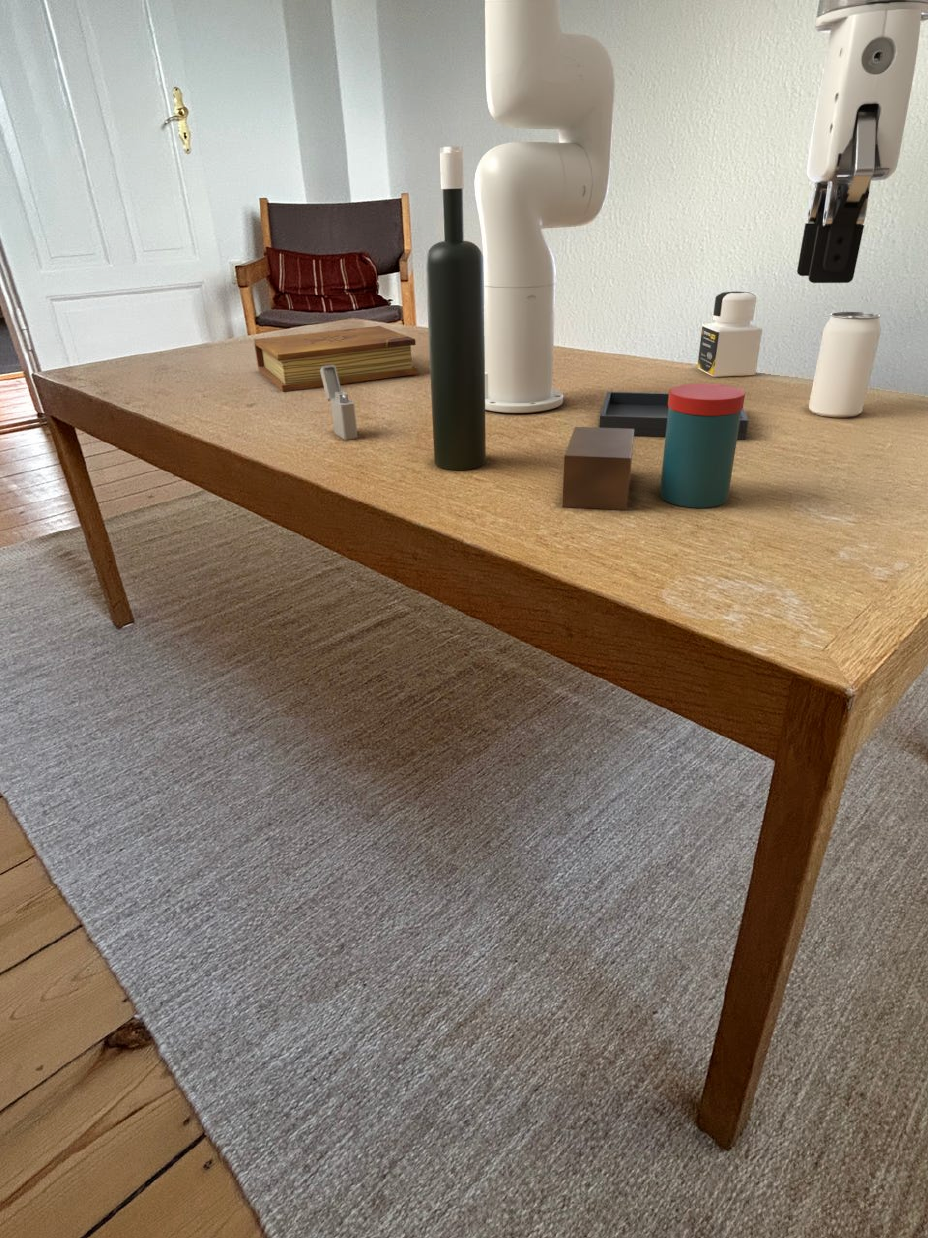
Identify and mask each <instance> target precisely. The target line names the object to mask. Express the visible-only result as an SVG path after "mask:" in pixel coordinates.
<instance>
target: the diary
mask: <svg viewBox="0 0 928 1238" xmlns="http://www.w3.org/2000/svg"><path fill="white" fill-rule="evenodd" d="M416 344H417V343H416V338H413V337H411V336H408V335H405V334H403V333H400V332H397V331H394V330H391V329H389V328H386V327H384V326H381V325H374V326H366V327H355V328H348V329H337V330H329V331H327V330H326V331H321V332H320V331H319V332H310V333H309V332H307V333H299V334H290V335H279V336H271V337H261V338H253V345H254V351H255V356H256V362H257V368H258V371H259V373H260V374H261V375H262V376H264V377H265V378H266V379H267V380H268V381H269V382H270V383H272V384H273V385H275V386H276V387H277V388H278V389H279V390H280V391H282V392H290V391H299V390H304V389H312V388H321V387H324V385H323V381H322V377H321V373H320V370H321V368H322V367H323V366H326V365H335V366H336V370H337V374H338V378H339V382H340V385H342V384H343V385H344V384H350V383H358V382H366V381H374V380H380V379H381V380H382V379H388V378H396V377H403V376H412V375H418V374H419V373H418V368H417V367H415V366H414V365H413V362H412V347H411V346H416Z"/></svg>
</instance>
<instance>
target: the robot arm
mask: <svg viewBox="0 0 928 1238" xmlns="http://www.w3.org/2000/svg"><path fill="white" fill-rule="evenodd" d="M560 3H561V2H560V0H484V33H485V34H484V36H485V38H484V40H485V47H484V48H485V91H486V92H485V93H486V101H487V107H488V111H489V114H490V116H491V118H492V119H493V120H494V121H495V122H496V123H497V124H498V125H501V126H503V127H507V128H512V129H523V130H524V129H525V130H526V129H527V130H557V131H558V141H557V142H553V141H551V142H549V141H513V142H512V141H511V142H506V143H501V144H498V145H496V146H493V147H492V148H490V149H489V150H488V151H487V152H486V153H484V155H483V156H482V157H481V159H480V160H479V161H478V164H477V167H476V171H475V175H474V197H475V203H476V209H477V214H478V220H479V227H480V233H481V243H482V244H481V245H482V255H483V260H484V345H485V411H489V412H496V413H504V414H529V413H538V412H545V411H549V410H553V409H556V408H559V407H560V406H561V405H562V404H563V403H564V394H563V393H562V392H561V391H559V390H557V389H555V388H553V377H554V374H553V373H554V371H553V370H554V342H555V314H556V313H555V312H556V309H555V308H556V280H557V279H556V277H557V274H556V273H557V270H556V263H555V258H554V254H553V251H552V249H551V247H550V246H549V243H548V242H547V239H546V237H545V234H544V233H543V231H542V230H545V229H558V228H559V229H560V228H575V227H583V226H586V225H588V224H590V223H591V222H593V221H595V220H596V219H597V218H598V217H599V215H600V213H601V212H602V210H603V208H604V206H605V203H606V200H607V197H608V193H609V186H610V179H611V176H610V175H611V162H612V147H613V128H614V115H615V114H614V112H615V95H616V94H615V93H616V82H615V81H616V80H615V79H616V78H615V71H614V67H613V62H612V59H611V56H610V54H609V52H608V50H607V49H606V47H605V46H604V44H603V43H602V42H600V40H598V39H597V38H594V37H592V36H589V35H585V34H578V33H564V32H563V31H562V29H561V25H560ZM926 21H928V0H818V5H817V11H816V19H815V23H814V30H815V31H817V32H819V33H826V34H829V37H828V41H827V47H826V51H825V58H824V63H823V67H822V74H821V80H820V84H819V89H818V96H817V101H816V107H815V113H814V117H813V118H814V119H813V123H812V124H813V125H812V126H813V127H812V131H811V138H810V145H809V150H808V151H809V152H808V158H807V159H808V160H807V167H806V175H807V176H806V177H807V178H808V179H809V180H810V181H811V182H812V183H814V186H813V190H812V195H811V198H810V203H809V208H808V211H807V212H808V213H807V220H806V221H807V222H805V223H804V229H803V234H802V235H803V236H802V239H801V246H800V251H799V257H798V262H797V269H796V273H797V275H799V276H801V277H808V281H809V282H810V283H812V284H848V283H851V282H852V281H853V280H854V277H855V271H856V268H857V267H856V266H857V263H858V257H859V252H860V247H861V243H862V239H863V234H864V228H865V225H864V223H865V220H866V216H867V211H868V203H869V196H870V189H871V182H872V181H885V180H887V179H888V178H890V177H891V176H893V174H894V173H895V172H896V170H897V168H898V163H899V159H900V153H901V147H902V143H903V137H904V132H905V127H906V121H907V115H908V109H909V104H910V99H911V93H912V89H913V82H914V75H915V69H916V63H917V57H918V49H919V41H920V34H921V33H920V32H921V23H924V22H926Z"/></svg>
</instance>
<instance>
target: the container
mask: <svg viewBox="0 0 928 1238" xmlns="http://www.w3.org/2000/svg"><path fill="white" fill-rule="evenodd" d="M668 393H669V398H668V407H669V409H668V418H667V427H666V437H664V438H665V439H664V445H663V446H664V449H663V455H662V456H663V457H662V466H661V475H660V484H659V497H660V498H661V499H662V500H663V501H665V502H667V503H669V504H672V505H675V506H680V507H683V508H684V507H685V508H693V509H695V508H696V509H704V508H705V509H706V508H715V507H718V506H719V507H720V506H721V505H724V504H726V502H727V501H728V499H729V494H730V487H731V481H732V475H733V469H734V461H735V455H736V448H737V443H738V439H737V436H738V430H739V423H740V417H741V410H742V409H743V408H744V405H745V398H746V392H745V390H743V389H742V388H739V387H736V386H731V385H727V384H726V385H725V384H719V383H686V384H680V385H675V386H673V387H671V388H670V389H669V390H668Z"/></svg>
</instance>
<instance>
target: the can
mask: <svg viewBox="0 0 928 1238" xmlns="http://www.w3.org/2000/svg"><path fill="white" fill-rule="evenodd" d="M829 316H830V318H829V319H828V321H827V322H826V324H825V325H824V328H823V332H822V337H821V342H820V346H819V352H818V356H817V361H816V367H815V371H814V377H813V382H812V387H811V391H810V397H809V403H808V410H809V411H810V413H811V414H814V415H816V416H820V417H826V418H834V419H849V418H855V417H857V416H859V415H860V414H861V413H862V412H863V411H864V406H865V401H866V397H867V394H868V389H869V385H870V381H871V376H872V371H873V367H874V363H875V359H876V355H877V350H878V345H879V340H880V337H881V332H882V331H881V330H882V326H881V323H880V318H881V315H880V314H878V313H874V312H868V311H867V312H866V311H836V312H832V313H830V315H829Z"/></svg>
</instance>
